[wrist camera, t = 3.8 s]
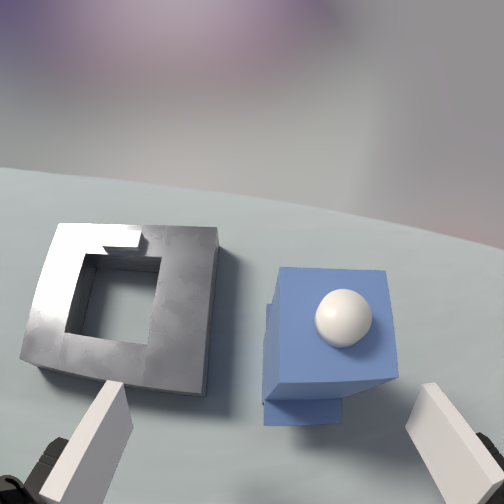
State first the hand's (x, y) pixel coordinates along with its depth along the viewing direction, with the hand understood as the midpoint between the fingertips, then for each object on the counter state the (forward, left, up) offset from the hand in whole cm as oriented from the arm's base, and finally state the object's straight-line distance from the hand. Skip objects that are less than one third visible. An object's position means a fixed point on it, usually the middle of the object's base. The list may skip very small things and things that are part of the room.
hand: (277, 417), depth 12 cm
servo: (-2, -3, -8) cm, 9 cm away
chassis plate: (+11, -7, -8) cm, 16 cm away
